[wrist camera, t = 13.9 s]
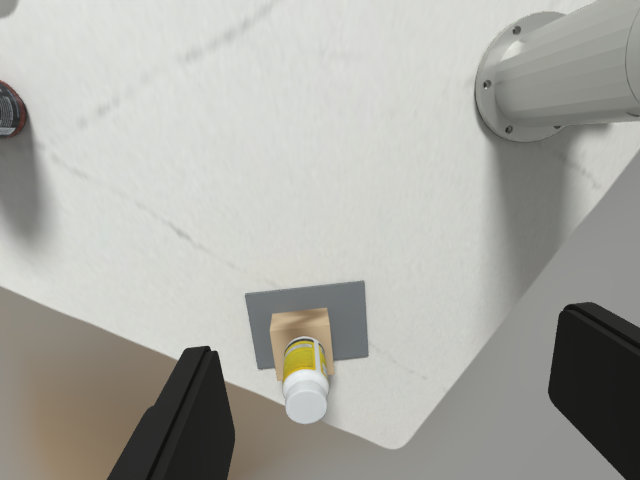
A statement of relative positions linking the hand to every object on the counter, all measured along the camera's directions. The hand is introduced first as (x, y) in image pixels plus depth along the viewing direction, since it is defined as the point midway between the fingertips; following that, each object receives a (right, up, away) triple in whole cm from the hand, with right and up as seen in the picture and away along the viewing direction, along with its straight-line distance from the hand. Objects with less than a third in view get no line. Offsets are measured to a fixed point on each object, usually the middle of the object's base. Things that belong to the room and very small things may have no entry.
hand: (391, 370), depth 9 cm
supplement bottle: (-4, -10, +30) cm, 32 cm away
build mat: (-3, -8, +34) cm, 35 cm away
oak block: (-4, -9, +34) cm, 35 cm away
